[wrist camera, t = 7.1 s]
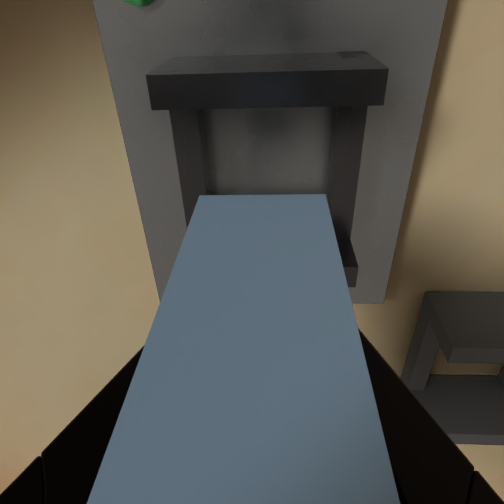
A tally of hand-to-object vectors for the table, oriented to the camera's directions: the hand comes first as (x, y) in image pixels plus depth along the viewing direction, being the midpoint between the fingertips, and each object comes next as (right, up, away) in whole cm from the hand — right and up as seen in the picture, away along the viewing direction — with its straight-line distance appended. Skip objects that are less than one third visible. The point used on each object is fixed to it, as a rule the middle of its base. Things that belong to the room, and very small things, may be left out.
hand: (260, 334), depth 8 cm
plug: (0, +1, +2) cm, 2 cm away
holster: (+13, -4, +15) cm, 20 cm away
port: (+1, +6, +9) cm, 11 cm away
